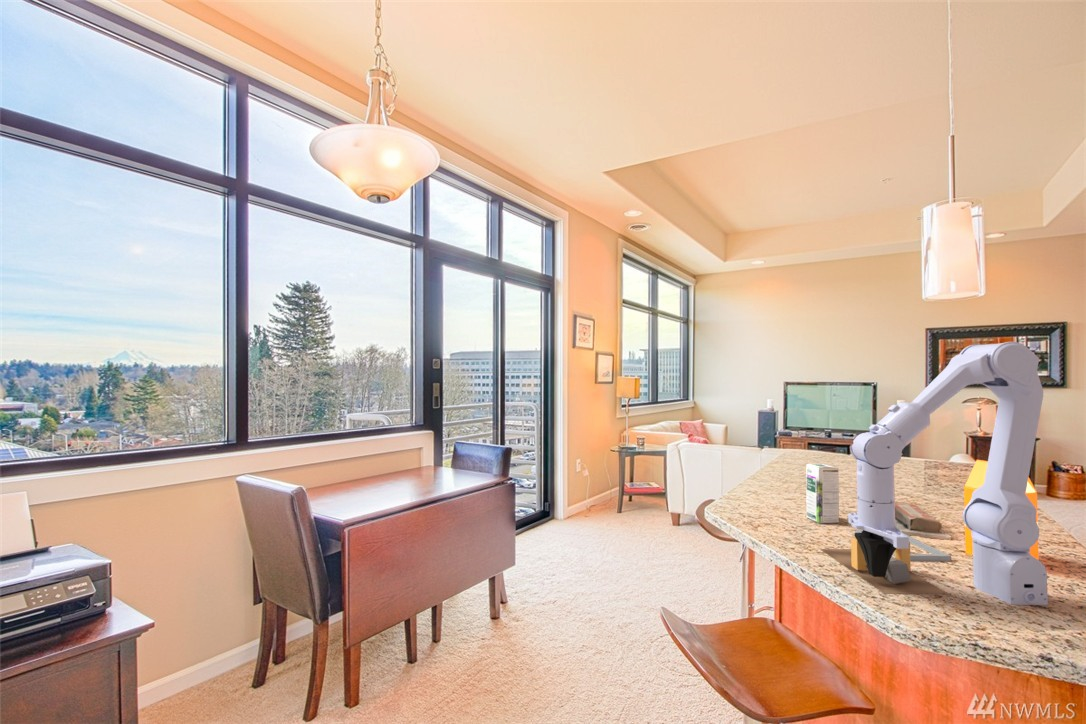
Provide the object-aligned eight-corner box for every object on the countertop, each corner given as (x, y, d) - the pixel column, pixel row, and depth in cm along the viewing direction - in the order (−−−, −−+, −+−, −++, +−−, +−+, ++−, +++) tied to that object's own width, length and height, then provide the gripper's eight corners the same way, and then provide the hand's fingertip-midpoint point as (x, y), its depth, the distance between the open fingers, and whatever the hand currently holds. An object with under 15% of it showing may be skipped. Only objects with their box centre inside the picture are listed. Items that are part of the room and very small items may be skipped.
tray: (951, 565, 102) (951, 555, 102) (902, 565, 102) (902, 555, 102) (897, 538, 119) (897, 530, 119) (855, 538, 119) (855, 529, 119)
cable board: (950, 600, 87) (950, 594, 87) (884, 599, 87) (884, 593, 87) (872, 554, 109) (872, 549, 109) (820, 553, 109) (819, 548, 109)
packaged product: (880, 499, 138) (924, 502, 134) (880, 517, 138) (924, 521, 134) (900, 517, 121) (951, 521, 118) (901, 537, 121) (952, 542, 117)
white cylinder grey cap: (914, 582, 90) (909, 560, 91) (892, 587, 91) (886, 565, 91) (876, 560, 101) (871, 540, 102) (856, 564, 102) (852, 544, 102)
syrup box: (805, 517, 136) (804, 463, 137) (826, 516, 137) (825, 463, 137) (819, 523, 131) (818, 467, 131) (840, 523, 131) (839, 466, 131)
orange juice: (1012, 568, 100) (1009, 467, 101) (964, 553, 109) (962, 460, 109) (1039, 564, 102) (1037, 465, 103) (991, 550, 111) (988, 458, 111)
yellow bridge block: (910, 570, 96) (910, 541, 96) (857, 570, 96) (856, 541, 96) (903, 566, 98) (903, 538, 98) (851, 566, 98) (851, 537, 98)
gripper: (831, 490, 99) (833, 560, 99) (877, 510, 85) (879, 592, 84) (868, 490, 99) (870, 560, 99) (921, 510, 84) (922, 593, 84)
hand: (877, 575), depth 92 cm, fingers closed
